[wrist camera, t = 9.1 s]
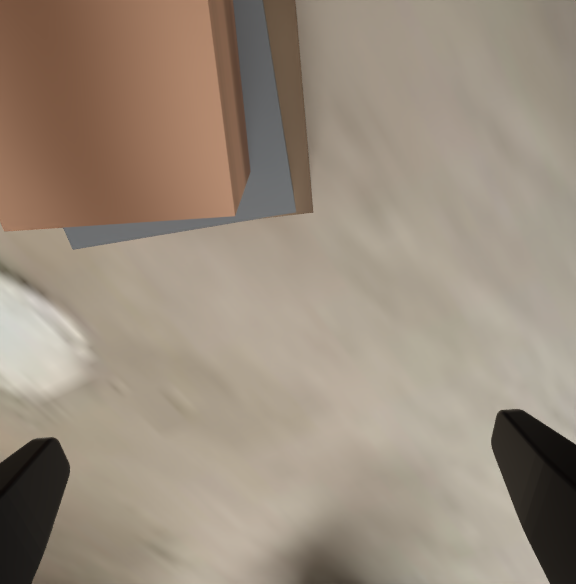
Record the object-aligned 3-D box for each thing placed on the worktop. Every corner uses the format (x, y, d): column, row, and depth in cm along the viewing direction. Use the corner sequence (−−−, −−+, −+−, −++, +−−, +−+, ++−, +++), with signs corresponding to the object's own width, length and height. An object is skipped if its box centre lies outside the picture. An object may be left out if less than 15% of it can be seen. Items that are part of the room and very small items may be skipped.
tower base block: (285, -73, 15) (286, -108, 12) (308, 195, 19) (313, 212, 17) (23, -36, 15) (-31, -62, 12) (107, 218, 20) (80, 239, 17)
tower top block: (253, -58, 13) (246, -97, 10) (293, 191, 16) (296, 212, 14) (15, -8, 13) (-53, -32, 10) (105, 223, 17) (72, 249, 14)
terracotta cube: (230, -20, 11) (195, -94, 6) (250, 171, 13) (234, 215, 9) (46, -6, 11) (-118, -71, 6) (98, 182, 13) (4, 231, 9)
